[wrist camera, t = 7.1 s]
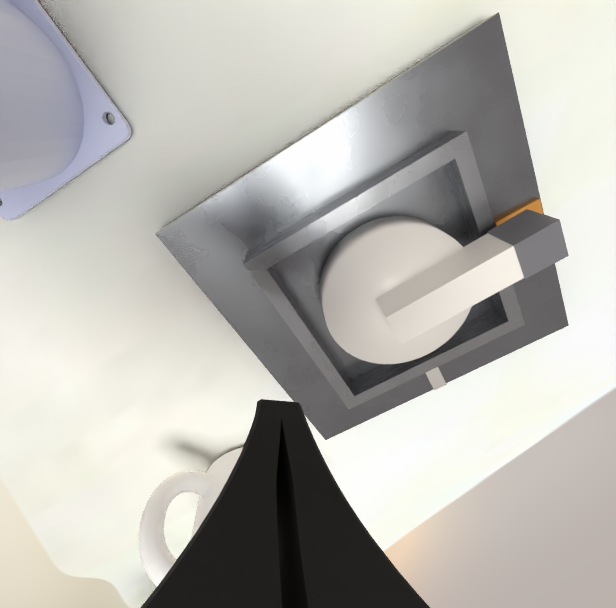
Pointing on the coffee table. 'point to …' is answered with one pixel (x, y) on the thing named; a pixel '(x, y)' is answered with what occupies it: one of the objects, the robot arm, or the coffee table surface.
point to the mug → (152, 521)
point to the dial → (424, 280)
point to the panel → (364, 208)
